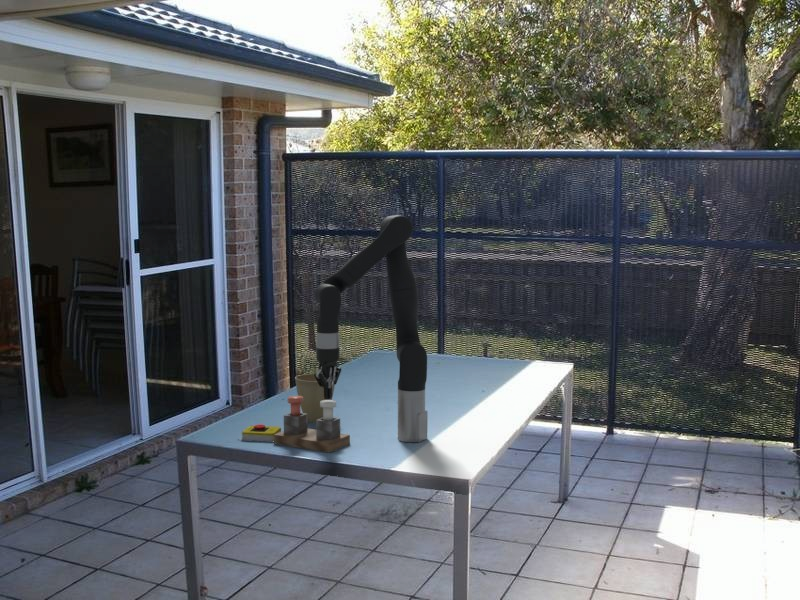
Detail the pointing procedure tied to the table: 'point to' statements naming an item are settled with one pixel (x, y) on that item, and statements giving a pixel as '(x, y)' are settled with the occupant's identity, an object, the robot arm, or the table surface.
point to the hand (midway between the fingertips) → (328, 398)
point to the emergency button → (260, 433)
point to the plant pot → (310, 396)
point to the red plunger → (295, 404)
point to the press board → (312, 434)
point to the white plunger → (328, 409)
